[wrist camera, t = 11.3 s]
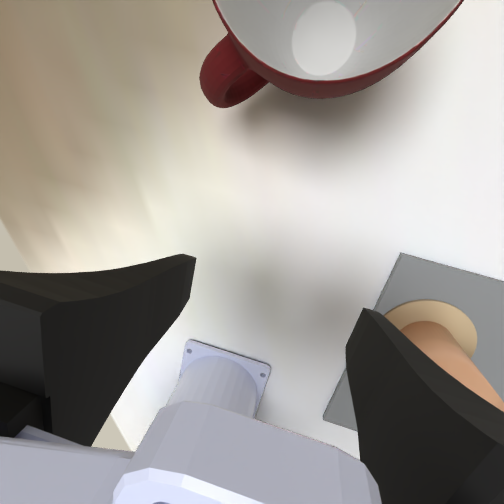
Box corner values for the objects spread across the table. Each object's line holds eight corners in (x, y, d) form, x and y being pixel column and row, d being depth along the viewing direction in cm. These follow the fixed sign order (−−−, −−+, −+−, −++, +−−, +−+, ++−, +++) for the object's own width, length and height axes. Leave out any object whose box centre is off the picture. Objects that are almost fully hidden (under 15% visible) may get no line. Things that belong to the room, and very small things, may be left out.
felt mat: (571, 499, 24) (575, 504, 24) (322, 416, 26) (323, 420, 26) (745, 348, 18) (754, 352, 18) (400, 252, 20) (402, 254, 19)
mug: (277, 169, 19) (251, 189, 10) (200, 69, 18) (91, -12, 9) (426, 46, 16) (594, -97, 7) (342, -92, 14) (404, -511, 5)
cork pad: (445, 387, 22) (447, 391, 22) (358, 360, 23) (359, 363, 23) (494, 316, 20) (497, 319, 19) (394, 287, 20) (396, 289, 20)
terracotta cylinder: (439, 371, 22) (484, 448, 16) (386, 357, 22) (412, 427, 16) (462, 329, 20) (521, 397, 15) (405, 314, 21) (441, 376, 15)
